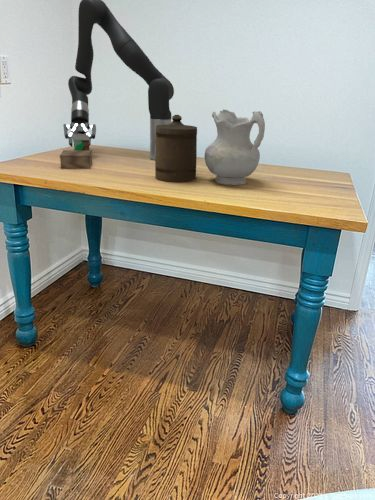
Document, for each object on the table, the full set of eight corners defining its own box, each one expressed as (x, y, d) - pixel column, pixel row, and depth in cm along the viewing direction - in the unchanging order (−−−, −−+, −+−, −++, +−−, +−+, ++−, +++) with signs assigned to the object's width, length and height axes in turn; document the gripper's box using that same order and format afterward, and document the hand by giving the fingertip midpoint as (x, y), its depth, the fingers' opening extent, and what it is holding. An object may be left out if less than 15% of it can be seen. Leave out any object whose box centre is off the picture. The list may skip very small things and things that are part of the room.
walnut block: (92, 162, 173) (91, 150, 171) (90, 168, 162) (89, 155, 160) (64, 162, 171) (63, 150, 169) (60, 168, 160) (59, 155, 158)
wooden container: (178, 171, 162) (179, 112, 153) (204, 179, 151) (207, 116, 143) (147, 176, 153) (146, 113, 144) (172, 184, 142) (173, 117, 134)
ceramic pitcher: (270, 184, 151) (280, 113, 143) (250, 191, 135) (259, 110, 127) (217, 176, 161) (223, 109, 153) (192, 182, 145) (198, 106, 137)
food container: (70, 155, 183) (68, 131, 179) (84, 154, 185) (82, 131, 181) (75, 160, 173) (73, 135, 169) (90, 159, 175) (89, 135, 171)
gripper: (61, 108, 179) (61, 140, 173) (95, 108, 181) (96, 140, 175) (64, 119, 186) (63, 150, 180) (97, 120, 188) (97, 150, 182)
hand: (79, 145), depth 177 cm, fingers closed on food container, 6 cm apart
